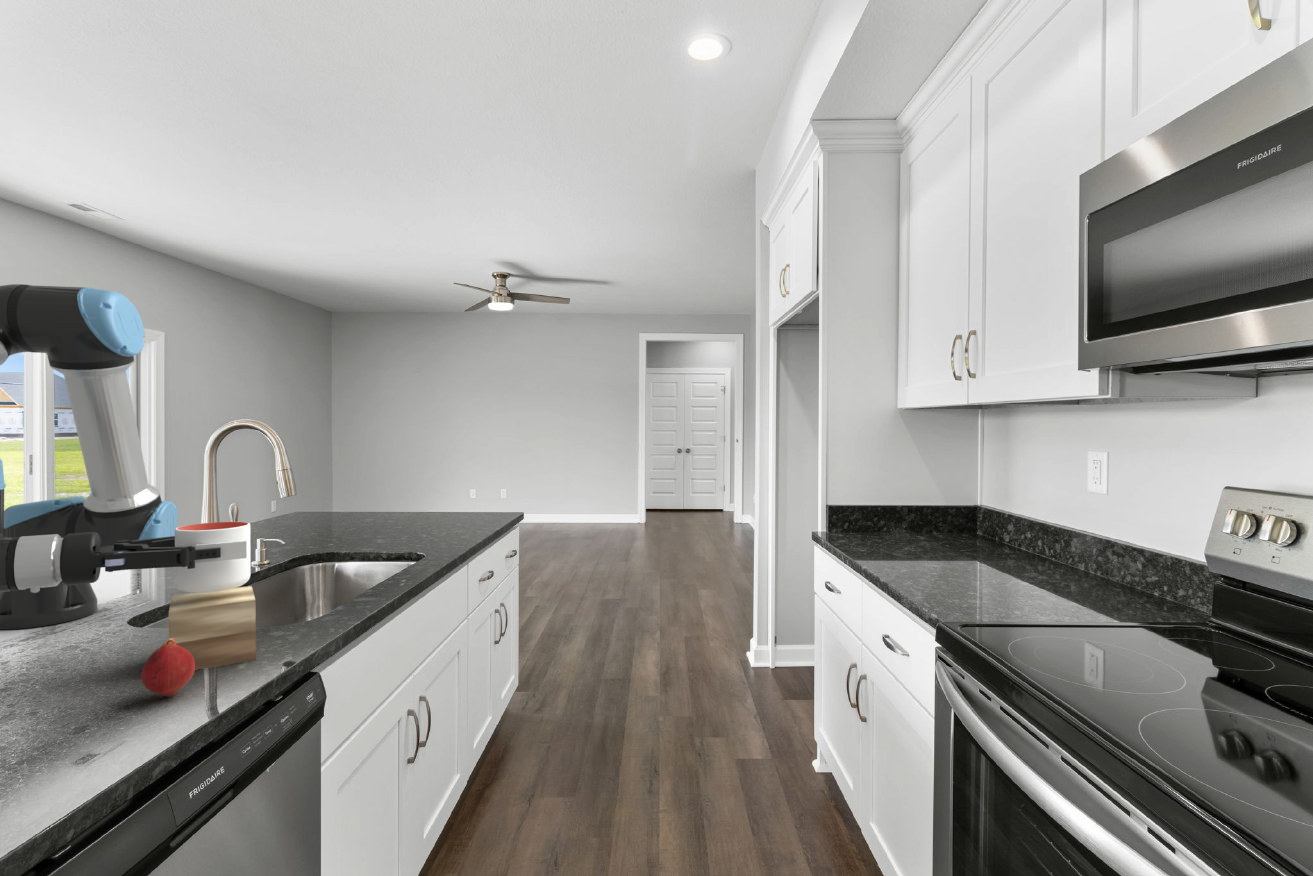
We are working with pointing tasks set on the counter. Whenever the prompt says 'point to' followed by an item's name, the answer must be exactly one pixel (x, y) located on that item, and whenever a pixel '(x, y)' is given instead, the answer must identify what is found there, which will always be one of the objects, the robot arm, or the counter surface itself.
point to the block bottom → (222, 650)
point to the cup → (215, 572)
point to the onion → (168, 669)
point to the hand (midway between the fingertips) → (245, 544)
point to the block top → (212, 614)
